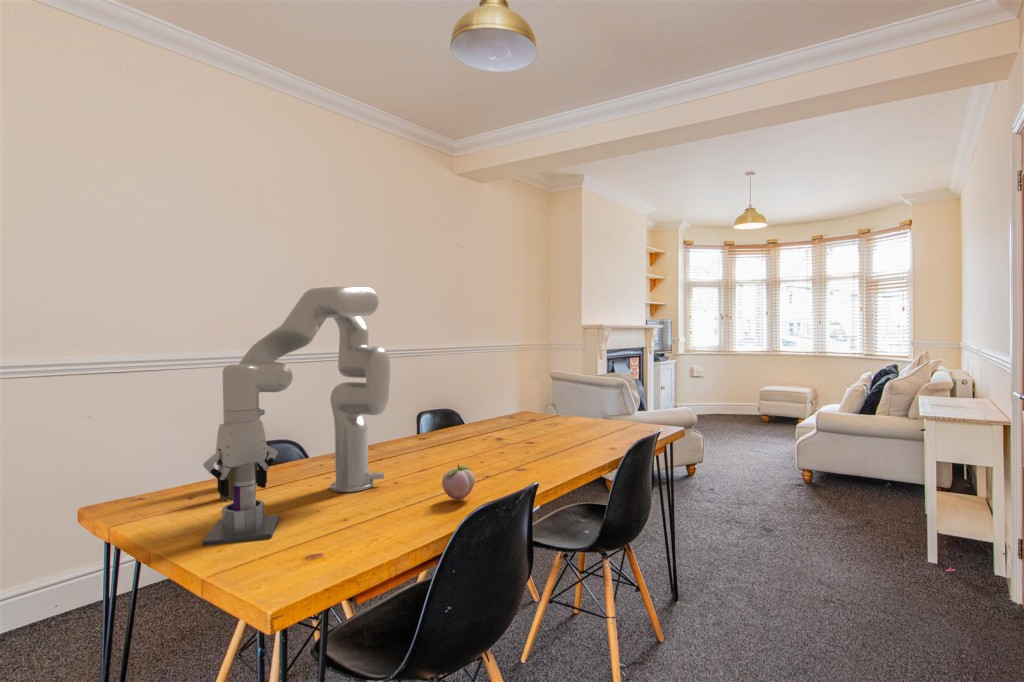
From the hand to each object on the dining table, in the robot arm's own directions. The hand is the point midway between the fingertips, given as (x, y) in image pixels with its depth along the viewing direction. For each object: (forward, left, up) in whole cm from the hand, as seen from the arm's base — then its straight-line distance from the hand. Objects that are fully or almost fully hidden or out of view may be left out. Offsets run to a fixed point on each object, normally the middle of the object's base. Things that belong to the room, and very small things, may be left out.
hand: (243, 490), depth 124 cm
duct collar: (0, 0, -9) cm, 9 cm away
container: (0, 0, -9) cm, 9 cm away
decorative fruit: (-52, -6, -10) cm, 53 cm away
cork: (+9, -30, -10) cm, 33 cm away
